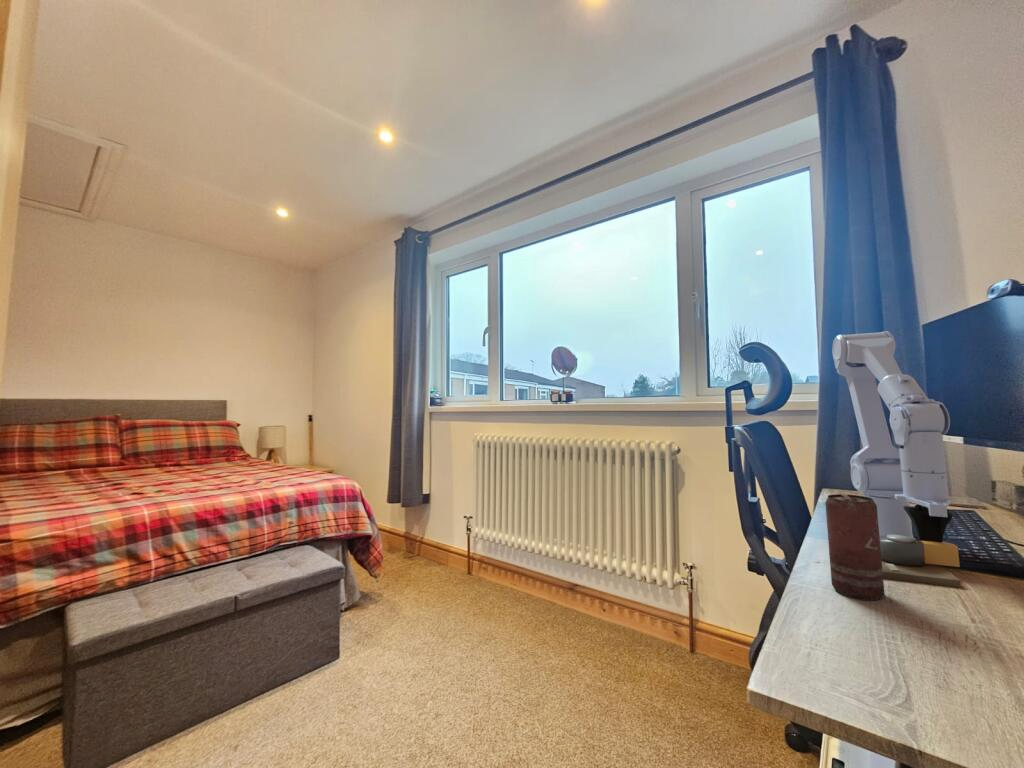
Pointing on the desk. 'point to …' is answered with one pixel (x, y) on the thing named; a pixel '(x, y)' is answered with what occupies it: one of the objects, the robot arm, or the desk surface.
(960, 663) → the desk surface
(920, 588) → the desk surface
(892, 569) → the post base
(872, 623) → the desk surface
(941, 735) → the desk surface
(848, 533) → the can
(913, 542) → the toy saucepan
